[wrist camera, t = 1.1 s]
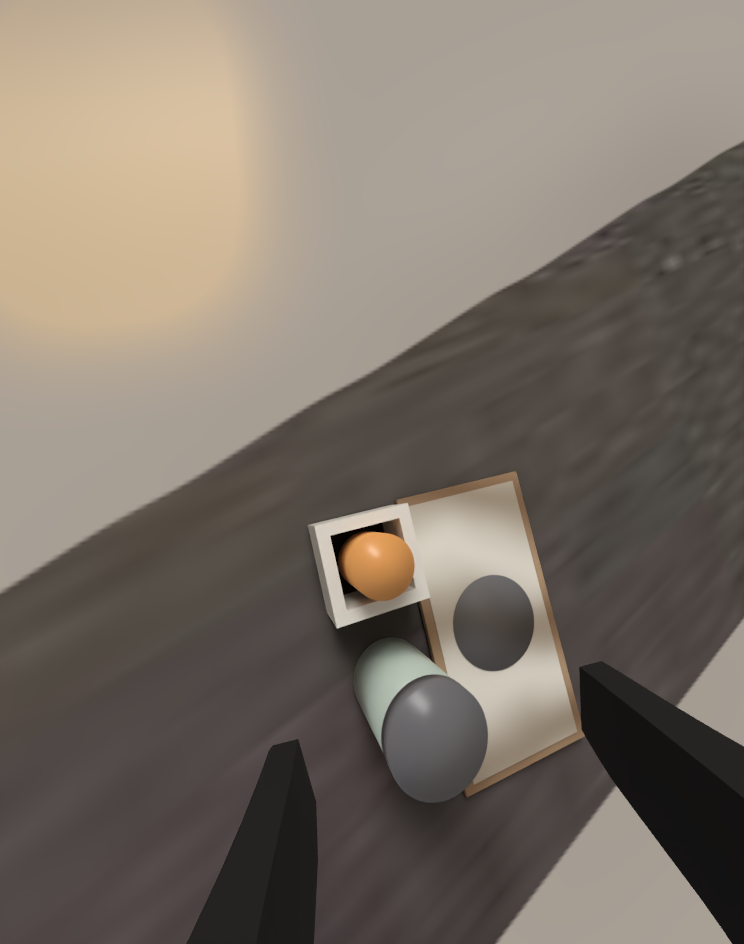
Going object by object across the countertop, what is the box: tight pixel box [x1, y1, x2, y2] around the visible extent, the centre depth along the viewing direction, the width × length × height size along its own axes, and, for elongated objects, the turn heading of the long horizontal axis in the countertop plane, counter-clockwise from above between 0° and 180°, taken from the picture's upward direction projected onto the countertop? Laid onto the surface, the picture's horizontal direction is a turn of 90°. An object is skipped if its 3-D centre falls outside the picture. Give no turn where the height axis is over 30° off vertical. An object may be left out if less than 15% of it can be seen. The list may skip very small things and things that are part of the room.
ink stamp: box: [353, 637, 488, 803], centre depth 17 cm, size 4×4×6 cm
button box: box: [308, 503, 430, 628], centre depth 18 cm, size 5×5×3 cm
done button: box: [338, 531, 415, 601], centre depth 17 cm, size 3×3×3 cm
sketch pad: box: [394, 471, 585, 797], centre depth 21 cm, size 16×8×1 cm, turn 14°
